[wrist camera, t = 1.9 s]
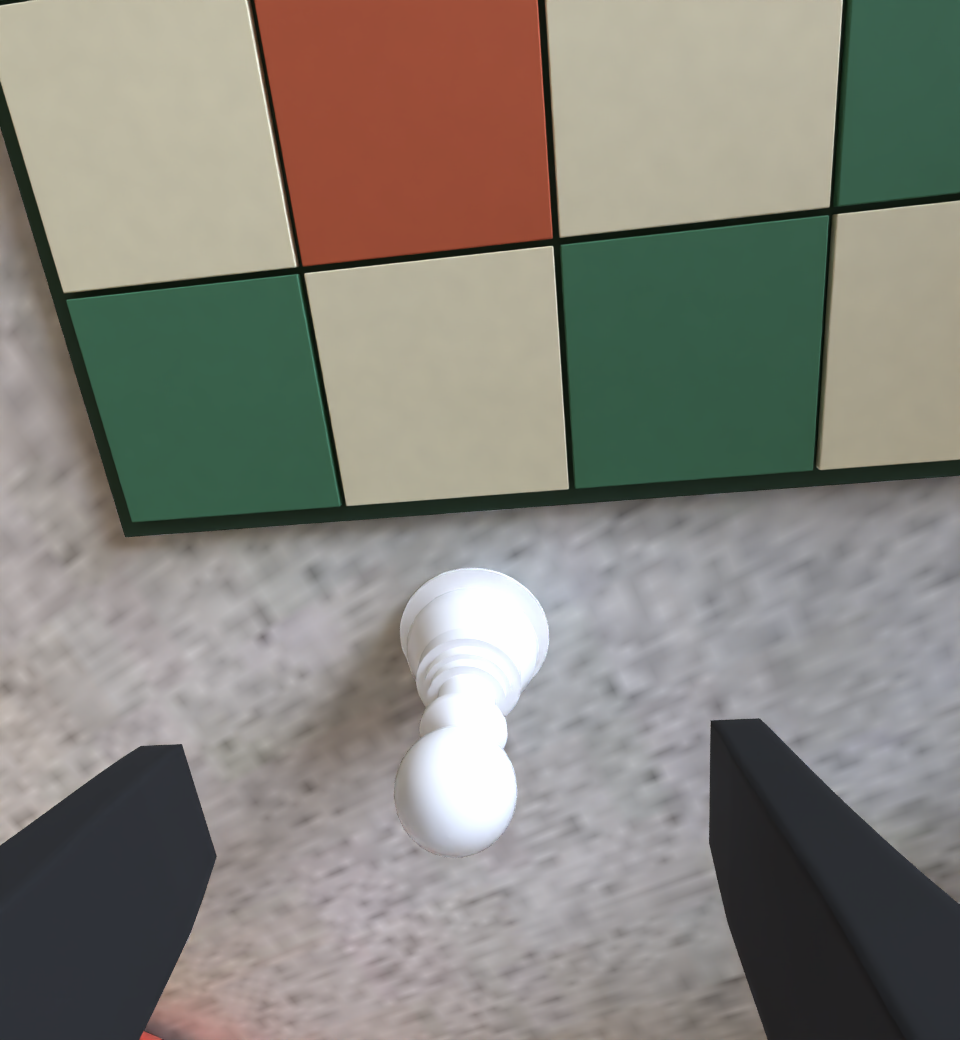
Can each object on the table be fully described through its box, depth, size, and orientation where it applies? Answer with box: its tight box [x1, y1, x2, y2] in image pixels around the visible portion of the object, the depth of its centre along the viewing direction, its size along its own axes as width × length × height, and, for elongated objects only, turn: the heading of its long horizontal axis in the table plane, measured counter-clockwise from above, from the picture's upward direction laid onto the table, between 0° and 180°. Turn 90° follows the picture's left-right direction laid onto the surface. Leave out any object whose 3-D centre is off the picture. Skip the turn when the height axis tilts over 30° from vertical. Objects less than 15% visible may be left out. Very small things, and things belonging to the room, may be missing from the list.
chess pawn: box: [394, 568, 549, 858], centre depth 11 cm, size 3×3×5 cm
